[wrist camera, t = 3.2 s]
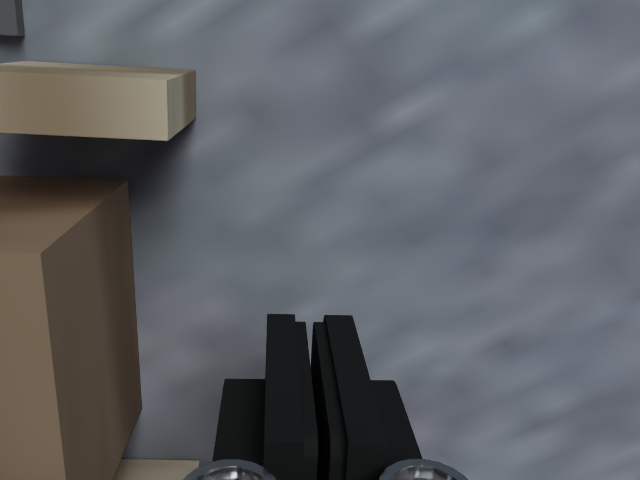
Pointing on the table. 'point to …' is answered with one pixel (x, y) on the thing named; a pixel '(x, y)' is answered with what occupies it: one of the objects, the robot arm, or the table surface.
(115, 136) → the trap lane
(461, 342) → the table surface
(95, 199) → the block
